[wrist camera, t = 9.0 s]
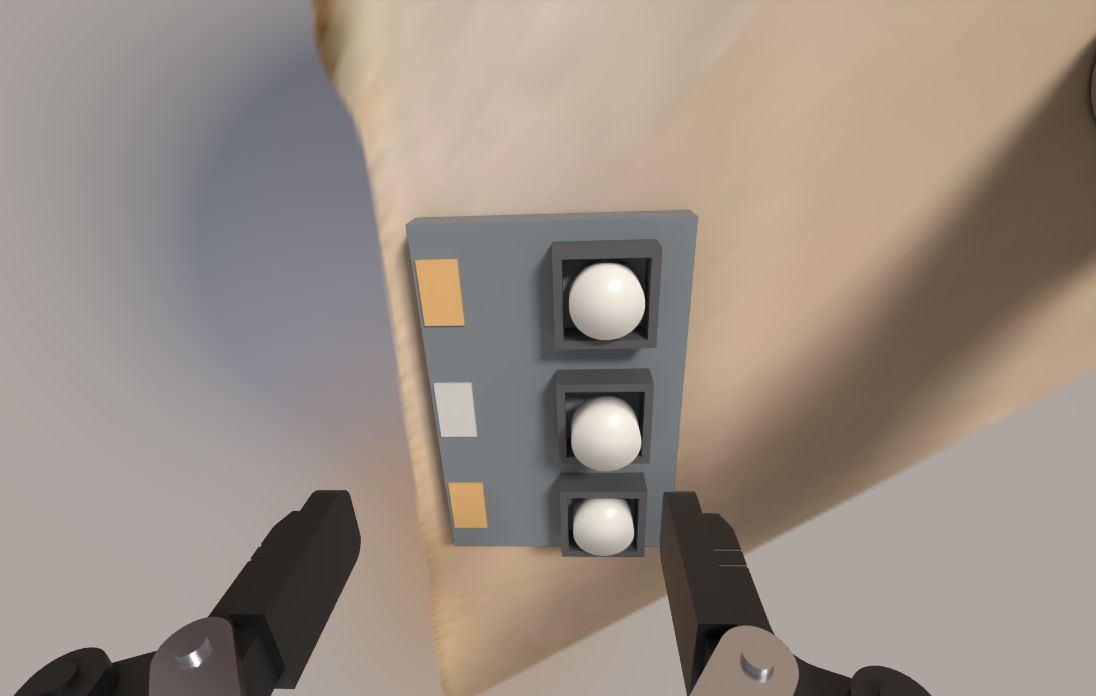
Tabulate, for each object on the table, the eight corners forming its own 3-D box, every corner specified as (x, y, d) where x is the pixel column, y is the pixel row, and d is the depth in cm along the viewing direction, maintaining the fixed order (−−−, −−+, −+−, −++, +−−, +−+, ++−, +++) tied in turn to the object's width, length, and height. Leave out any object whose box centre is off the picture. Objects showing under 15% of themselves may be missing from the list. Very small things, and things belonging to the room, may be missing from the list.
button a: (641, 257, 28) (646, 268, 26) (639, 325, 29) (643, 339, 27) (568, 259, 28) (568, 269, 26) (569, 326, 29) (569, 340, 28)
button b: (638, 395, 30) (642, 413, 28) (636, 450, 32) (639, 471, 30) (570, 395, 30) (570, 414, 28) (571, 450, 32) (571, 471, 30)
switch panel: (690, 210, 29) (707, 223, 25) (664, 526, 39) (674, 568, 36) (415, 217, 30) (393, 232, 26) (459, 526, 40) (448, 567, 36)
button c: (631, 489, 34) (635, 510, 32) (629, 533, 36) (633, 555, 34) (572, 489, 35) (572, 510, 33) (573, 533, 36) (573, 555, 34)
